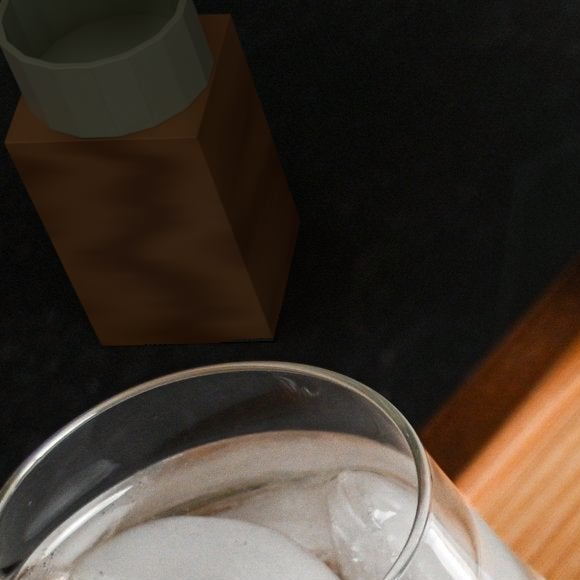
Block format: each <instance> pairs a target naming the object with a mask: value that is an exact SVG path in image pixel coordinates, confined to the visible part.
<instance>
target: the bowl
mask: <svg viewBox="0 0 580 580" xmlns="http://www.w3.org/2000/svg"><path fill="white" fill-rule="evenodd" d="M198 15H199V14H198V11H197V9H196V6H195V4H194V1H193V0H0V49H1V52H2V53H3V56H4V58H5V59H6V63H7V64H8V66H9V69H10V70H11V72H12V76H13V77H14V79H15V81H16V83H17V86H18V89H19V90H20V92H21V94H22V95H23V97H24V99H25V101H26V103H27V105H28V108H29V110H30V112H31V113H32V114H33V115H34V116H35V117H37V118H38V119H39V120H40V121H41V122H43V123H44V124H45V125H46V126H47V127H49V128H50V129H52V130H54V131H58V132H62V133H65V134H69V135H73V136H76V137H80V138H102V137H121V136H124V135H128V134H131V133H135V132H138V131H142V130H145V129H149V128H152V127H155V126H158V125H159V124H161V123H163V122H165V121H166V120H168V119H170V118H171V117H173V116H175V115H176V114H178V113H180V112H182V111H183V110H185V109H187V108H188V107H189V106H190V104H191V103H192V102H193V101H194V100H195V99H196V98H197V97H198V95H199V94H200V93H201V92H202V91H203V90H204V89H205V88H206V86H207V85H208V82H209V78H210V74H211V71H212V67H213V63H214V60H213V57H212V54H211V51H210V48H209V45H208V43H207V40H206V37H205V34H204V31H203V29H202V26H201V23H200V20H199V17H198Z"/></svg>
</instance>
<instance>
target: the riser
mask: <svg viewBox="0 0 580 580" xmlns="http://www.w3.org/2000/svg"><path fill="white" fill-rule="evenodd" d="M198 17H199V20H200V23H201V26H202V29H203V31H204V34H205V37H206V40H207V43H208V45H209V48H210V51H211V54H212V57H213V60H214V63H213V67H212V71H211V74H210V78H209V82H208V85H207V86H206V88H205V89H204V90H203V91H202V92H201V93H200V94H199V95H198V97H197V98H196V99H195V100H194V101H193V102H192V103H191V104H190V106H189V107H188V108H187V109H185V110H183V111H182V112H180V113H178V114H176V115H175V116H173V117H171V118H170V119H168V120H166V121H165V122H163V123H161V124H159V125H158V126H155V127H152V128H149V129H145V130H142V131H138V132H135V133H131V134H128V135H124V136H121V137H102V138H80V137H76V136H73V135H69V134H65V133H62V132H58V131H54V130H52V129H50V128H49V127H47V126H46V125H45V124H44V123H43V122H41V121H40V120H39V119H38V118H37V117H35V116H34V115H33V114H32V113H31V112H30V110H29V108H28V105H27V103H26V101H25V99H24V97H23V95H22V93H21V94H20V96H19V100H18V102H17V105H16V108H15V112H14V113H13V117H12V120H11V122H10V126H9V127H8V130H7V134H6V136H5V139H4V146H5V148H6V150H7V152H8V154H9V156H10V158H11V161H12V162H13V165H14V167H15V168H16V171H17V173H18V175H19V177H20V179H21V181H22V183H23V186H24V187H25V190H26V192H27V193H28V196H29V198H30V199H31V201H32V204H33V206H34V209H35V210H36V212H37V214H38V217H39V219H40V220H41V223H42V225H43V227H44V229H45V231H46V233H47V235H48V237H49V239H50V241H51V243H52V246H53V248H54V250H55V252H56V254H57V256H58V258H59V260H60V263H61V264H62V267H63V268H64V270H65V273H66V275H67V277H68V279H69V281H70V283H71V285H72V287H73V289H74V292H75V294H76V295H77V298H78V300H79V302H80V304H81V307H82V308H83V310H84V312H85V314H86V316H87V319H88V321H89V323H90V325H91V327H92V329H93V330H94V332H95V335H96V337H97V340H98V341H99V343H100V345H101V347H125V346H126V347H127V346H128V347H129V346H165V345H164V344H166V346H167V345H169V344H171V345H203V344H204V345H206V344H207V345H208V344H209V345H210V344H222V343H221V342H226V341H232V340H236V339H244V338H245V339H249V338H250V339H257V338H265V339H266V338H273V337H274V334H275V329H276V326H277V322H278V319H279V320H280V317H279V314H280V315H281V313H280V311H281V312H282V308H283V304H282V302H283V303H284V298H285V294H286V289H287V286H288V281H289V276H290V271H291V267H292V262H293V257H294V253H295V249H296V244H297V241H298V235H299V230H300V226H301V223H302V221H301V219H300V216H299V213H298V210H297V207H296V204H295V200H294V198H293V195H292V191H291V189H290V185H289V184H288V183H289V182H288V180H287V177H286V175H285V171H284V168H283V165H282V162H281V160H280V156H279V154H278V150H277V148H276V144H275V142H274V138H273V136H272V132H271V130H270V127H269V124H268V120H267V118H266V115H265V112H264V108H263V106H262V103H261V100H260V97H259V95H258V91H257V88H256V85H255V83H254V79H253V77H252V74H251V70H250V68H249V65H248V62H247V59H246V56H245V53H244V50H243V47H242V44H241V41H240V38H239V35H238V32H237V30H236V26H235V23H234V20H233V18H232V15H231V13H216V14H215V13H213V14H198ZM281 307H282V308H281ZM278 323H279V322H278ZM277 327H278V326H277ZM145 344H147V345H145ZM150 344H151V345H150ZM154 344H156V345H154ZM159 344H161V345H159Z"/></svg>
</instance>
